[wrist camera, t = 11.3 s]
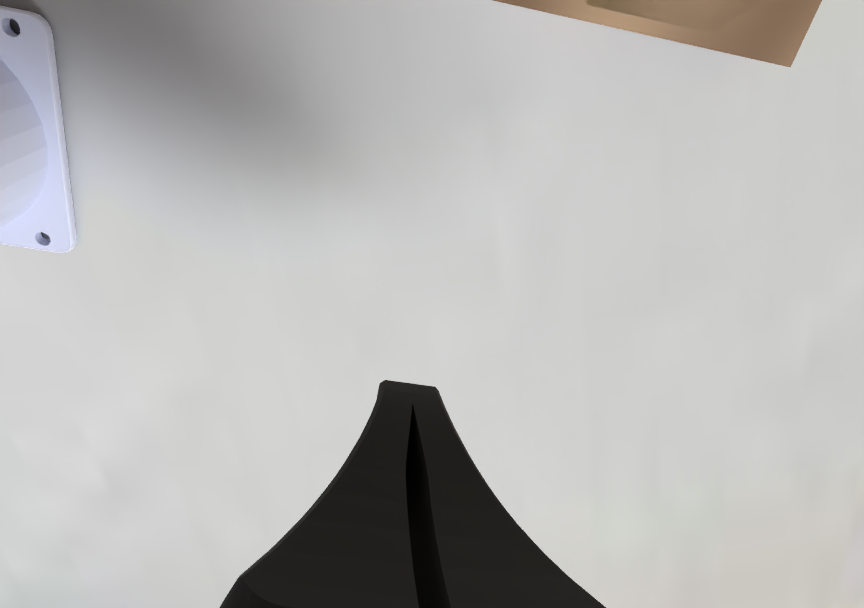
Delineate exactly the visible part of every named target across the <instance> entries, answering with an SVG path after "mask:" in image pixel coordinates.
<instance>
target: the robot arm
mask: <svg viewBox="0 0 864 608" xmlns="http://www.w3.org/2000/svg"><path fill="white" fill-rule="evenodd" d="M11 18H12V19H14V20H15V21H16V22H17V23H18V24H19V27H20V34H19V35H17V34H15V33H14V32H13V31H12V30H11V27H10V25H9V23H10V19H11ZM41 232H43V233H45V234H47V235H48V236H49V237H50V240H51V241H48V240H45V239H44V238H43V237H42V234H41ZM0 244H4V245H10V246H17V247H23V248H30V249H37V250H43V251H50V252H56V253H66V252H69V251H70V250H72V249H73V248H74V247H75V246H76V244H77V235H76V227H75V218H74V210H73V201H72V193H71V185H70V176H69V168H68V159H67V151H66V142H65V134H64V126H63V117H62V109H61V100H60V92H59V84H58V75H57V67H56V58H55V50H54V41H53V33H52V30H51V27H50V25H49V24H48V22H47V21H46V19H44V18H43V17H42V16H41V15H39V14H37V13H34V12H30V11H25V10H20V9H15V8H10V7H5V6H1V5H0ZM220 608H606V607H604V606H603V605H602V604H601V603H600V602H598V601H597V600H596V599H595V598H594V597H592V596H591V595H590V594H589V593H588V592H586V591H585V590H584V589H583V588H582V587H580V586H579V585H578V584H577V583H575V582H574V581H573V580H572V579H571V578H570V577H569V576H567V575H566V574H565V573H564V572H563V571H562V570H561V569H560V568H559V567H558V566H557V565H556V564H555V563H554V562H553V561H552V560H551V559H549V558H548V557H547V556H546V555H545V554H544V553H543V552H542V551H541V550H540V548H539V547H538V546H537V545H536V544H535V543H534V542H533V541H532V540H531V539H530V538H529V536H528V535H527V534H526V533H525V532H524V531H523V530H522V529H521V528H520V527H519V525H518V524H517V523H516V522H515V521H514V519H513V518H512V517H511V516H510V514H509V513H508V512H507V511H506V509H505V508H504V507H503V505H502V504H501V503H500V501H499V500H498V499H497V497H496V496H495V495H494V493H493V492H492V490H491V489H490V488H489V486H488V485H487V483H486V482H485V480H484V478H483V477H482V475H481V474H480V472H479V471H478V469H477V467H476V466H475V464H474V462H473V461H472V459H471V457H470V456H469V454H468V452H467V450H466V448H465V447H464V445H463V443H462V441H461V439H460V437H459V435H458V434H457V432H456V430H455V428H454V426H453V423H452V421H451V419H450V417H449V415H448V413H447V411H446V408H445V406H444V404H443V401H442V399H441V396H440V394H439V391H438V390H437V388H436V387H432V386H425V385H418V384H410V383H403V382H396V381H388V380H385V381H383V382H381V383H380V385H379V390H378V395H377V400H376V403H375V406H374V408H373V411H372V413H371V416H370V418H369V420H368V422H367V424H366V426H365V428H364V430H363V432H362V434H361V436H360V438H359V440H358V441H357V443H356V445H355V446H354V448H353V450H352V451H351V453H350V455H349V456H348V458H347V460H346V461H345V463H344V464H343V466H342V467H341V469H340V470H339V472H338V473H337V475H336V476H335V477H334V479H333V480H332V481H331V483H330V484H329V485H328V487H327V488H326V489H325V491H324V492H323V493H322V494H321V496H320V497H319V498H318V499H317V501H316V502H315V503H314V504H313V505H312V507H311V508H310V509H309V510H308V511H307V512H306V514H305V515H304V516H303V517H302V518H301V519H300V520H299V521H298V522H297V523H296V524H295V525H294V526H293V527H292V528H291V529H290V530H289V531H288V532H287V533H286V534H285V535H284V536H283V537H282V539H281V540H280V541H279V542H278V543H277V544H276V545H274V546H273V547H272V548H271V549H270V550H269V551H268V552H267V553H266V554H265V555H263V556H262V557H261V558H260V559H259V560H258V561H256V562H255V563H254V564H253V565H252V566H251V567H250V568H248V569H247V570H246V571H245V572H244V573H243V574H241V575H240V576H239V578H238V579H237V581H236V582H235V584H234V585H233V587H232V588H231V590H230V592H229V593H228V595H227V596H226V598H225V600H224V601H223V603H222V605H221V606H220Z"/></svg>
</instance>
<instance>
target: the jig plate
mask: <svg viewBox="0 0 864 608" xmlns="http://www.w3.org/2000/svg"><path fill="white" fill-rule="evenodd" d="M494 1H498V2H503V3H507V4H512V5H516V6H521V7H525V8H529V9H534V10H538V11H543V12H547V13H552V14H556V15H561V16H565V17H569V18H574V19H578V20H583V21H587V22H592V23H596V24H600V25H605V26H609V27H614V28H618V29H623V30H627V31H632V32H636V33H640V34H645V35H649V36H654V37H658V38H663V39H667V40H672V41H676V42H680V43H685V44H689V45H694V46H698V47H703V48H707V49H711V50H716V51H720V52H725V53H729V54H734V55H738V56H743V57H747V58H751V59H756V60H760V61H765V62H769V63H774V64H778V65H783V66H787V67H791V65H792V63H793V61H794V59H795V56H796V54H797V52H798V50H799V48H800V46H801V44H802V42H803V39H804V37H805V35H806V33H807V31H808V29H809V27H810V25H811V22H812V20H813V18H814V16H815V14H816V12H817V10H818V8H819V5H820V3H821V1H822V0H494Z"/></svg>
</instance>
